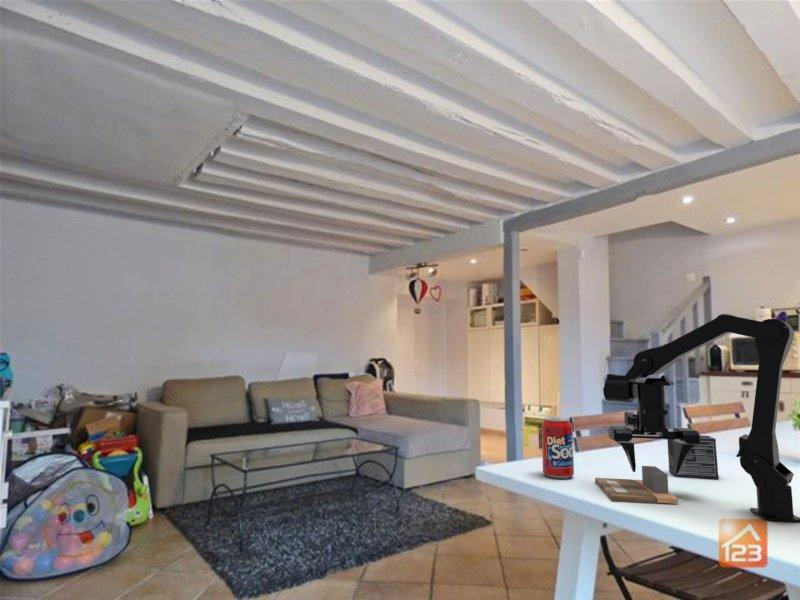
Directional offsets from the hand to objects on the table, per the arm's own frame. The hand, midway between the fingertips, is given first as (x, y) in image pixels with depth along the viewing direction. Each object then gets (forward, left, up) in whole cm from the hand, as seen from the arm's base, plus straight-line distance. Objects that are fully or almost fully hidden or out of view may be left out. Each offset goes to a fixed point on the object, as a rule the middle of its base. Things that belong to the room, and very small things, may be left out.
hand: (654, 472), depth 115 cm
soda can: (+13, +20, -5) cm, 24 cm away
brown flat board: (0, +7, -5) cm, 9 cm away
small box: (+21, -16, -5) cm, 27 cm away
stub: (0, 0, -5) cm, 5 cm away
